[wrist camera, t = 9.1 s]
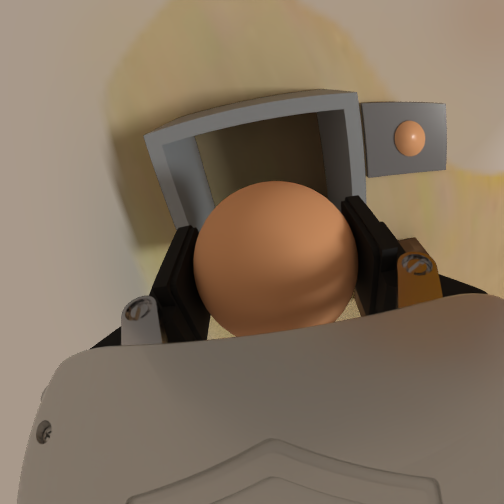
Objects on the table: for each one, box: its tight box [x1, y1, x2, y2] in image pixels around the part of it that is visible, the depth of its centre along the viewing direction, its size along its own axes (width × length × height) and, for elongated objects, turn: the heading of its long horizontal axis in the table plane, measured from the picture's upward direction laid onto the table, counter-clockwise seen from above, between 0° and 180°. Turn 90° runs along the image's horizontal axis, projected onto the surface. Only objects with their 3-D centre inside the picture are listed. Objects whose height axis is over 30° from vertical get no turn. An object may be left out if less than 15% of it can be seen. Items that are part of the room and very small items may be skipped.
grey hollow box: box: [143, 89, 366, 232], centre depth 17 cm, size 11×11×7 cm
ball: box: [193, 181, 358, 337], centre depth 10 cm, size 6×6×6 cm
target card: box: [361, 102, 447, 178], centre depth 18 cm, size 8×6×1 cm
